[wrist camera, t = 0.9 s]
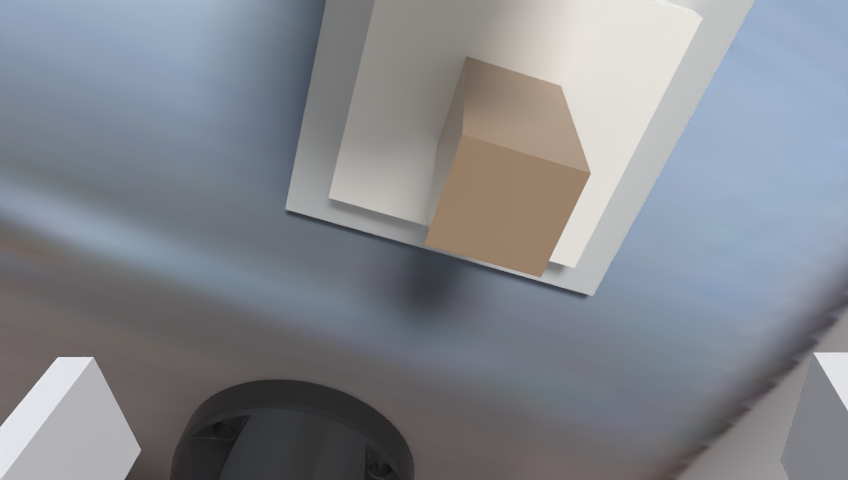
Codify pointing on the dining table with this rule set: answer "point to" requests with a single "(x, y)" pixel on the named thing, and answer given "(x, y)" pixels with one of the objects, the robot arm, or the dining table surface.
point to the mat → (308, 194)
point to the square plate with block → (505, 118)
